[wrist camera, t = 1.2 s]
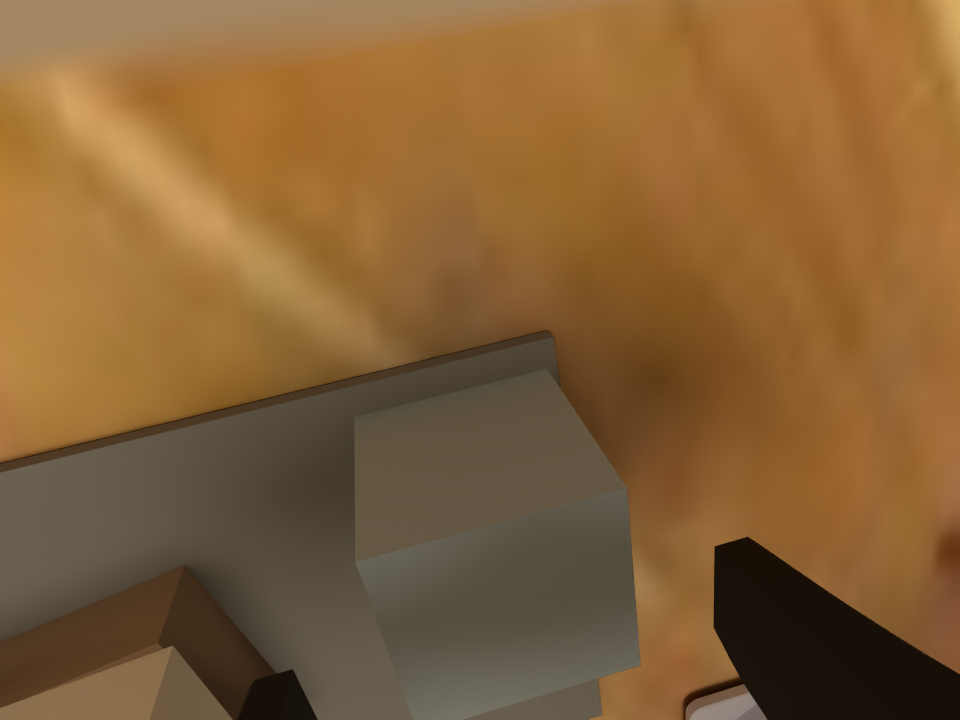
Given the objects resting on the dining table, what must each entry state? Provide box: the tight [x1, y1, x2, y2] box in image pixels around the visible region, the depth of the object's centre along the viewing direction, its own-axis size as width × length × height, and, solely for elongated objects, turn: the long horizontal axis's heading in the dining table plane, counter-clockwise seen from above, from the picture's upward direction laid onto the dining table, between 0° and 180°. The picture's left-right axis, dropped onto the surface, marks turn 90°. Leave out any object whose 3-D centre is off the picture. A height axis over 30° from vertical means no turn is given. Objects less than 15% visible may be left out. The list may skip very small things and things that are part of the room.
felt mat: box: [0, 330, 602, 720], centre depth 16 cm, size 14×18×1 cm
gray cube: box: [354, 369, 640, 720], centre depth 13 cm, size 4×4×4 cm
